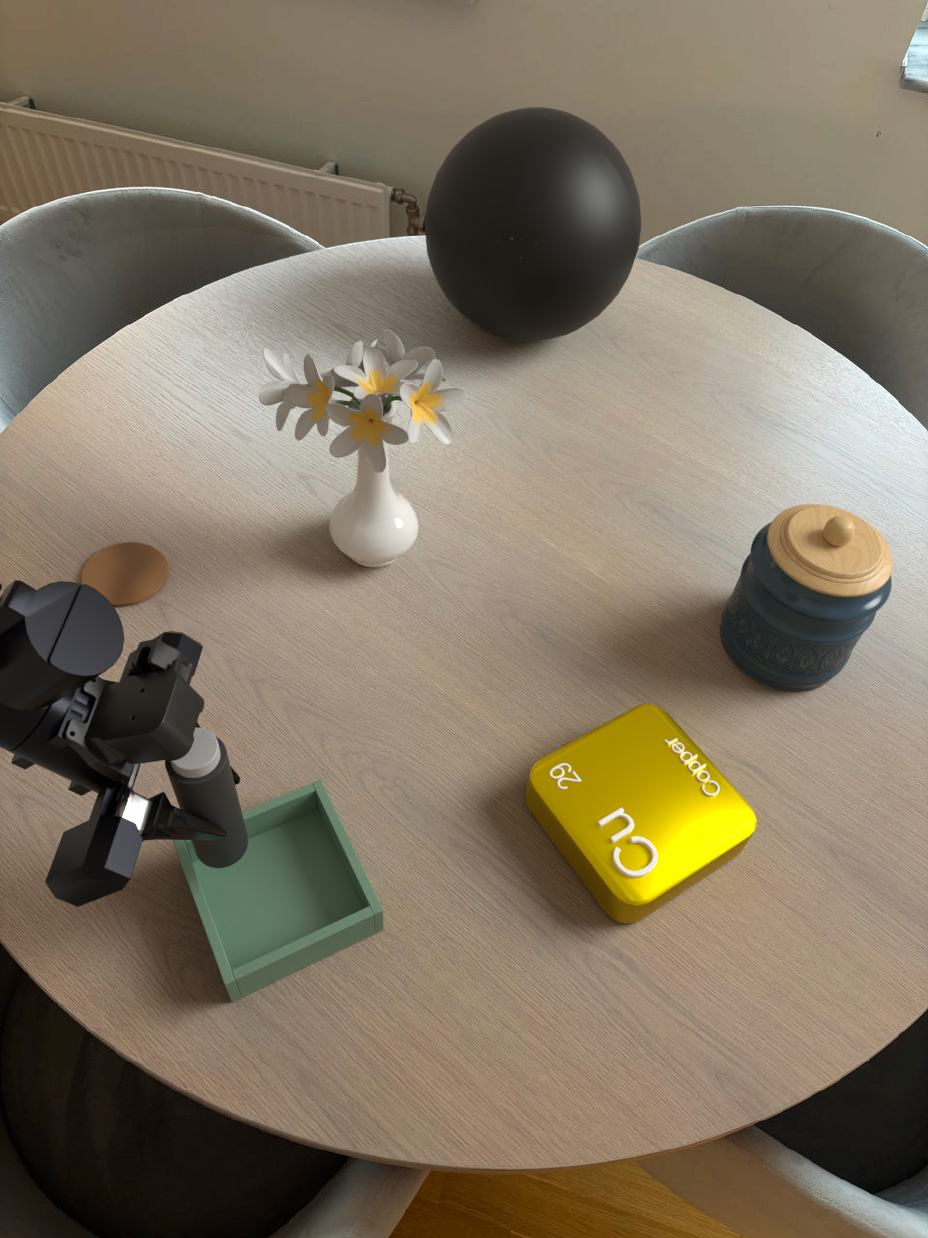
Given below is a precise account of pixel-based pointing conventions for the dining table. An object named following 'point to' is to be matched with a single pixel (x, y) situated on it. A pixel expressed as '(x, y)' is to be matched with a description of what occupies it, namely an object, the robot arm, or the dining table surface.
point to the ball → (533, 224)
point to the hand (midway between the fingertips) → (229, 809)
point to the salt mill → (210, 797)
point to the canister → (806, 596)
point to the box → (283, 892)
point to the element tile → (638, 811)
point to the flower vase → (368, 434)
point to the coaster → (126, 573)
